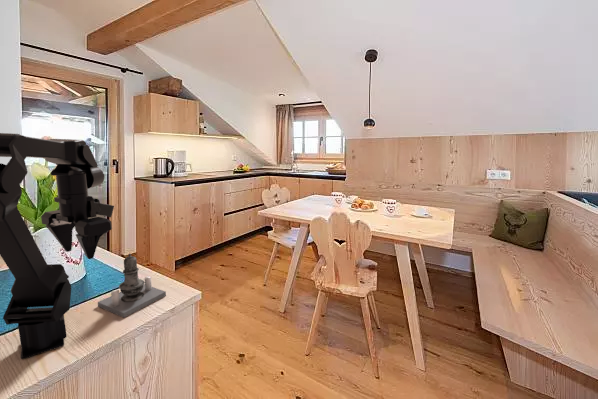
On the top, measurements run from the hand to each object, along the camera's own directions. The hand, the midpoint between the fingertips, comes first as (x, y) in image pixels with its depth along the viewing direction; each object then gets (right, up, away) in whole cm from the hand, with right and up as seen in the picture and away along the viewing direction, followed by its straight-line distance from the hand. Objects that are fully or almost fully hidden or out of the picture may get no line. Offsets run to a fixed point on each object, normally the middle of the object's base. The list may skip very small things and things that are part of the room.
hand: (79, 254), depth 74 cm
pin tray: (+11, -13, +4) cm, 17 cm away
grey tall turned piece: (+11, -12, +4) cm, 17 cm away
